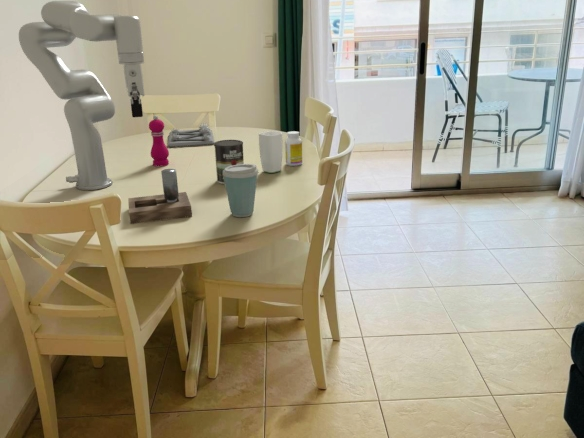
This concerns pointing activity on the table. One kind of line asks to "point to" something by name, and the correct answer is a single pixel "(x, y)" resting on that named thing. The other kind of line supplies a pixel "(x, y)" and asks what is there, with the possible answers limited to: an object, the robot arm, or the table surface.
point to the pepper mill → (158, 143)
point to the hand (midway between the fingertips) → (137, 114)
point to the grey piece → (191, 137)
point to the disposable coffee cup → (241, 188)
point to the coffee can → (227, 156)
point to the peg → (170, 185)
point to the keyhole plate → (158, 208)
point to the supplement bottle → (293, 149)
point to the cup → (271, 151)
